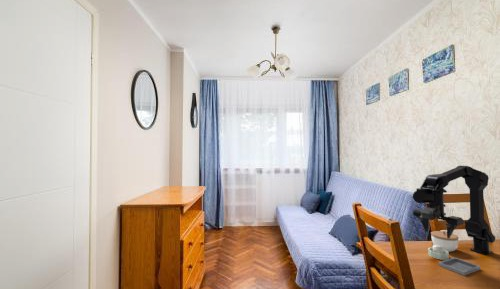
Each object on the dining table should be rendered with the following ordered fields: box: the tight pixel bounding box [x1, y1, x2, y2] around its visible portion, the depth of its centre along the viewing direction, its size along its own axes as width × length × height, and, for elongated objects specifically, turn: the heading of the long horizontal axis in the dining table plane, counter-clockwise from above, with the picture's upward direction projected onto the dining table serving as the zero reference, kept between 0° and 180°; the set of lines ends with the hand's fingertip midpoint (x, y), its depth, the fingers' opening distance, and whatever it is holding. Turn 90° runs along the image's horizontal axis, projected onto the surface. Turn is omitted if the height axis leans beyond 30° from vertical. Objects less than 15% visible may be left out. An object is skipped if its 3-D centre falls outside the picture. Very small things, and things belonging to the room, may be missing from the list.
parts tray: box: [438, 256, 481, 277], centre depth 99 cm, size 12×9×2 cm
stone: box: [432, 244, 444, 254], centre depth 109 cm, size 4×4×4 cm
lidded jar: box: [430, 230, 459, 252], centre depth 117 cm, size 11×11×9 cm
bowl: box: [427, 246, 450, 261], centre depth 109 cm, size 8×8×3 cm
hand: (437, 234), depth 110 cm, fingers open, 9 cm apart
